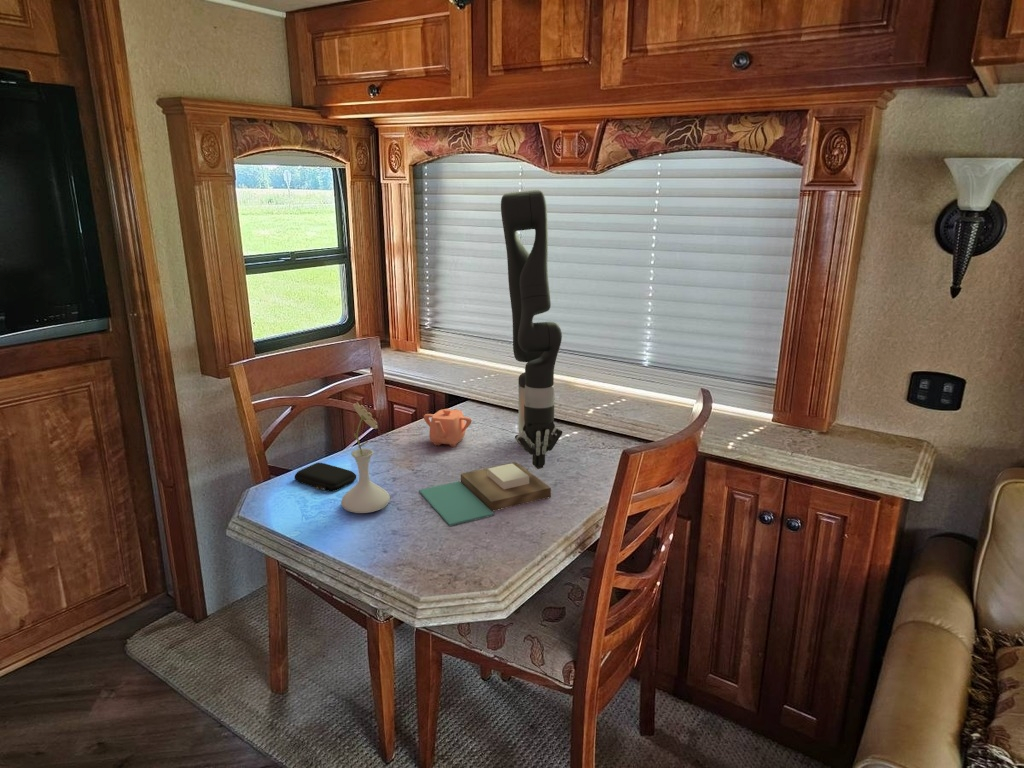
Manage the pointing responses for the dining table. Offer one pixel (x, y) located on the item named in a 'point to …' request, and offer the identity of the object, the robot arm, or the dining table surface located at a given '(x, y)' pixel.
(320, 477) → the carrying case or bag
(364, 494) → the flower in vase
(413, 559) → the dining table surface
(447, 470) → the dining table surface
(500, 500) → the brown wooden board
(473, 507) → the mat
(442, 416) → the teapot
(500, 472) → the tile
